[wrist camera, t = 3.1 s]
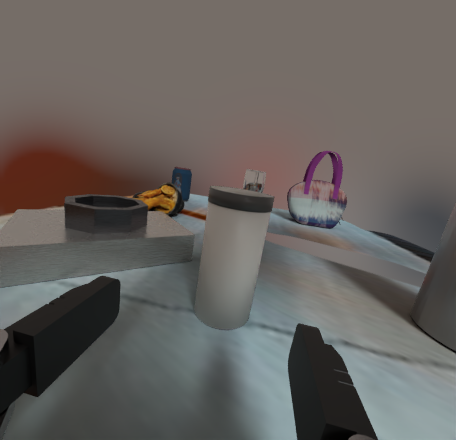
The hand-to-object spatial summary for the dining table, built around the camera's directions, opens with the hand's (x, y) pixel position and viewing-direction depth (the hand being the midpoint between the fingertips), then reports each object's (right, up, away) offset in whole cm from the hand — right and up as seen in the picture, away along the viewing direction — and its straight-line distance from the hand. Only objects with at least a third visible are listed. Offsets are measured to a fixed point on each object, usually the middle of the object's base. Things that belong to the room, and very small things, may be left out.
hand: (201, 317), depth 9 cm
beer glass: (+8, +6, +63) cm, 64 cm away
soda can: (-17, +12, +71) cm, 74 cm away
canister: (+1, -5, +12) cm, 13 cm away
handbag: (+31, +3, +66) cm, 73 cm away
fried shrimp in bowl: (-18, +5, +42) cm, 46 cm away
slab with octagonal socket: (-16, 0, +21) cm, 27 cm away
